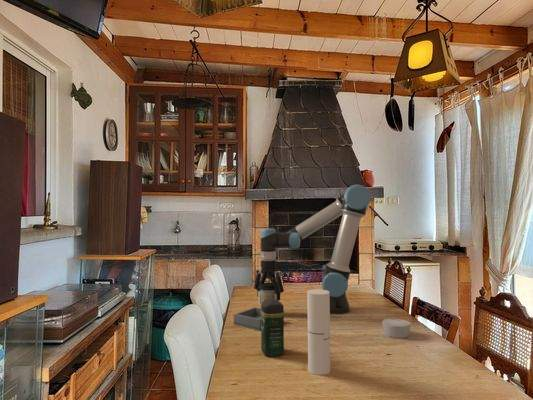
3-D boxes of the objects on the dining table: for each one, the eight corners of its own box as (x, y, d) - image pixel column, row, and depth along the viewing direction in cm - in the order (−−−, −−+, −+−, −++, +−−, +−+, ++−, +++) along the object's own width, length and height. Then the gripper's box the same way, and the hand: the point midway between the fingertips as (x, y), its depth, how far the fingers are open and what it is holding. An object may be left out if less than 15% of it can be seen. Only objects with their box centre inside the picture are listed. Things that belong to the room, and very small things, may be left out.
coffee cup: (276, 317, 175) (276, 286, 175) (257, 316, 177) (257, 285, 177) (279, 312, 184) (279, 282, 184) (261, 311, 186) (261, 281, 186)
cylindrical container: (306, 365, 121) (305, 289, 121) (327, 364, 121) (326, 289, 122) (310, 375, 114) (309, 294, 114) (333, 374, 114) (332, 294, 115)
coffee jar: (286, 356, 129) (286, 303, 129) (264, 358, 127) (264, 304, 128) (280, 346, 138) (279, 297, 139) (259, 348, 137) (259, 298, 137)
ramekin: (410, 332, 153) (410, 319, 154) (412, 341, 143) (411, 327, 143) (382, 329, 157) (382, 317, 157) (382, 338, 146) (381, 324, 147)
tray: (280, 322, 168) (280, 312, 168) (259, 330, 156) (259, 320, 156) (254, 316, 177) (254, 307, 177) (233, 324, 165) (233, 314, 166)
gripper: (246, 258, 185) (246, 303, 184) (282, 262, 171) (282, 310, 171) (255, 257, 191) (256, 300, 190) (291, 260, 177) (291, 307, 177)
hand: (268, 305), depth 180 cm, fingers closed on coffee cup, 9 cm apart
